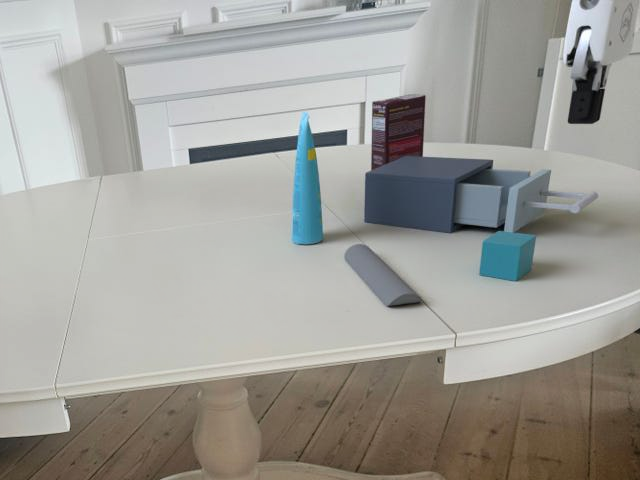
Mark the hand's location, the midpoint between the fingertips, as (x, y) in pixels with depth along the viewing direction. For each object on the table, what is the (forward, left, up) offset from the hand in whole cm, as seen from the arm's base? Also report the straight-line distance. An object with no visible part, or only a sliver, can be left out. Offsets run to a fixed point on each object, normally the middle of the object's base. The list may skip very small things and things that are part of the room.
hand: (583, 122), depth 82 cm
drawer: (+8, 0, -14) cm, 16 cm away
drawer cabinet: (+21, 0, -15) cm, 25 cm away
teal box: (+1, +18, -15) cm, 23 cm away
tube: (+31, +18, -15) cm, 39 cm away
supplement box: (+36, -17, -15) cm, 42 cm away
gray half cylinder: (+13, +27, -15) cm, 33 cm away
